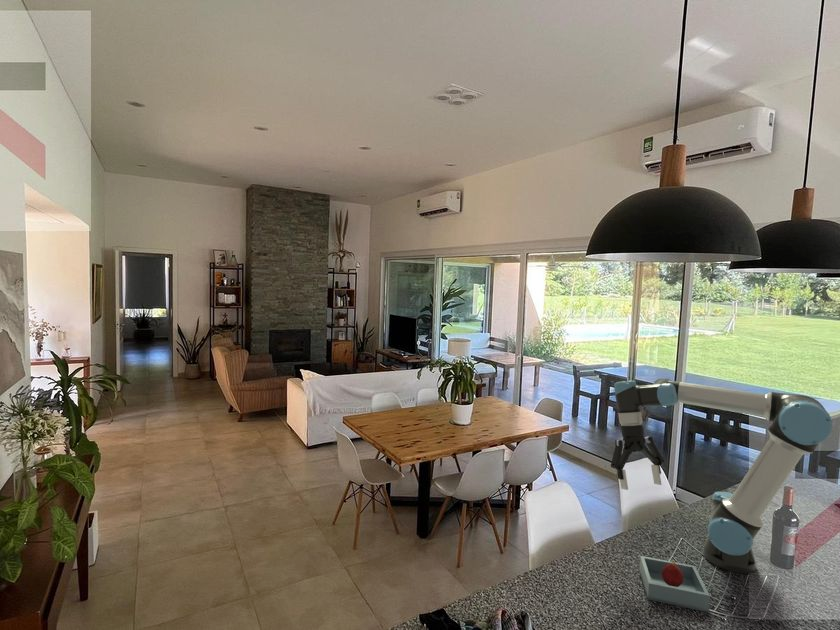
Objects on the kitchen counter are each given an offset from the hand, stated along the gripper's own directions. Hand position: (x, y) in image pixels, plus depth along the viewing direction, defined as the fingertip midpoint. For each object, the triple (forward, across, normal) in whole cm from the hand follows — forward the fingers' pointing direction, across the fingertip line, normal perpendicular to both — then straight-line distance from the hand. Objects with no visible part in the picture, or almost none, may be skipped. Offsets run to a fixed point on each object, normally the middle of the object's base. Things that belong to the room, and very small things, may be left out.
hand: (641, 486), depth 157 cm
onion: (+28, +4, +12) cm, 30 cm away
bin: (+28, +4, +12) cm, 31 cm away
